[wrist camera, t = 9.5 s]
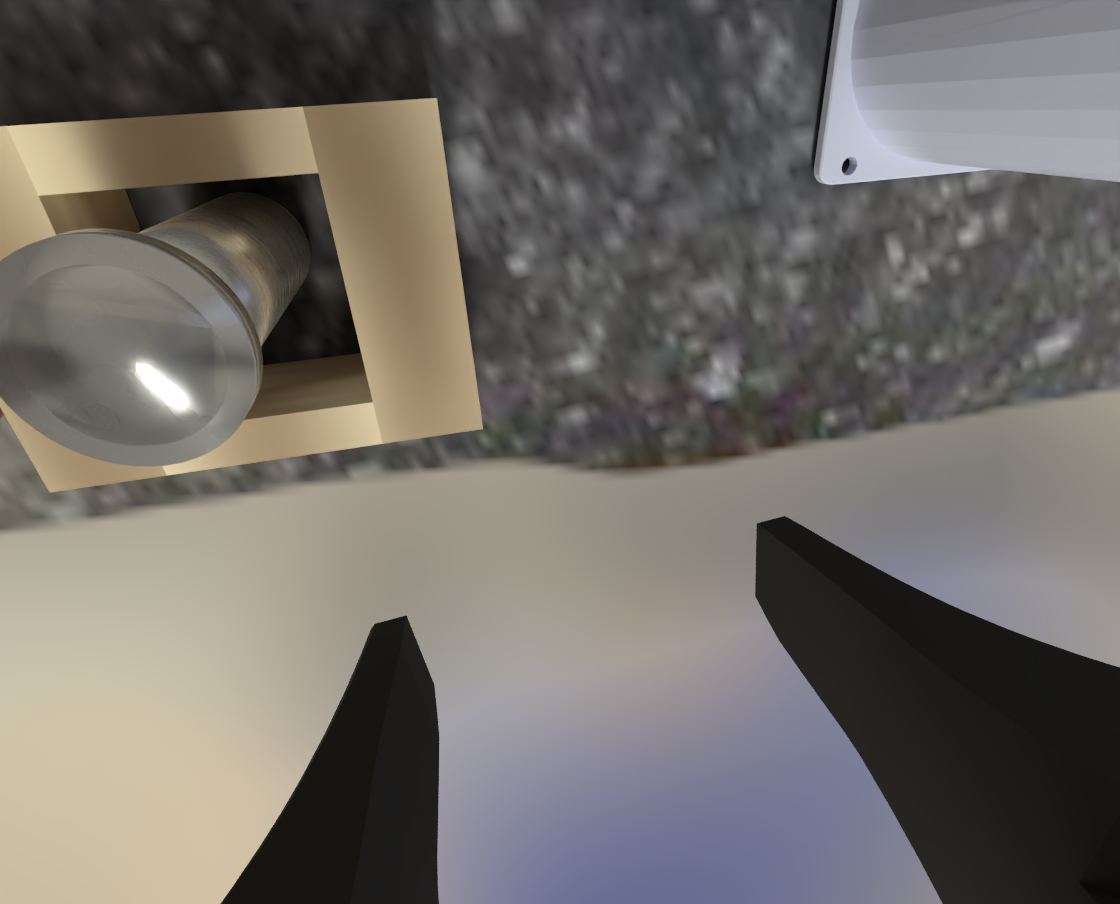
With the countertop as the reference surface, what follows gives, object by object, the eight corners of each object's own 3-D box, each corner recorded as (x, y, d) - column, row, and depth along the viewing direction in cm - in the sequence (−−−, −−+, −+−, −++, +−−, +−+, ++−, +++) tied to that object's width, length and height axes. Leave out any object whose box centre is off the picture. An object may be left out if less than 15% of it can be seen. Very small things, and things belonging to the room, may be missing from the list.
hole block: (432, 100, 16) (437, 97, 13) (471, 375, 20) (482, 428, 17) (-25, 130, 15) (-159, 136, 11) (116, 422, 19) (49, 492, 15)
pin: (307, 171, 16) (212, 225, 9) (338, 308, 18) (282, 450, 11) (156, 180, 16) (-87, 247, 8) (205, 321, 18) (44, 481, 10)
